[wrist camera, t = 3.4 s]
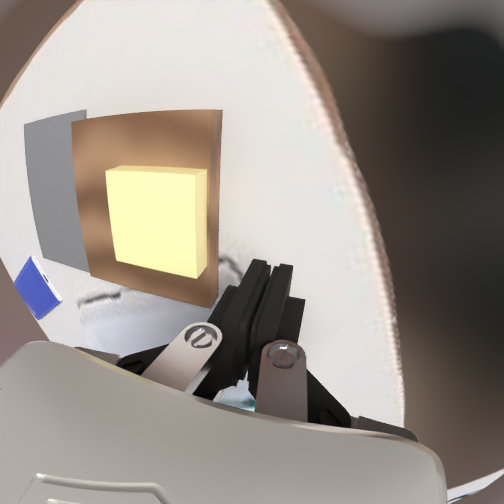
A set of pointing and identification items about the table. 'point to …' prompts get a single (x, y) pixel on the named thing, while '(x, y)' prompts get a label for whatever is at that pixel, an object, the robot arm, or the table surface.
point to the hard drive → (36, 288)
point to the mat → (55, 189)
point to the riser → (146, 154)
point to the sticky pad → (159, 217)
